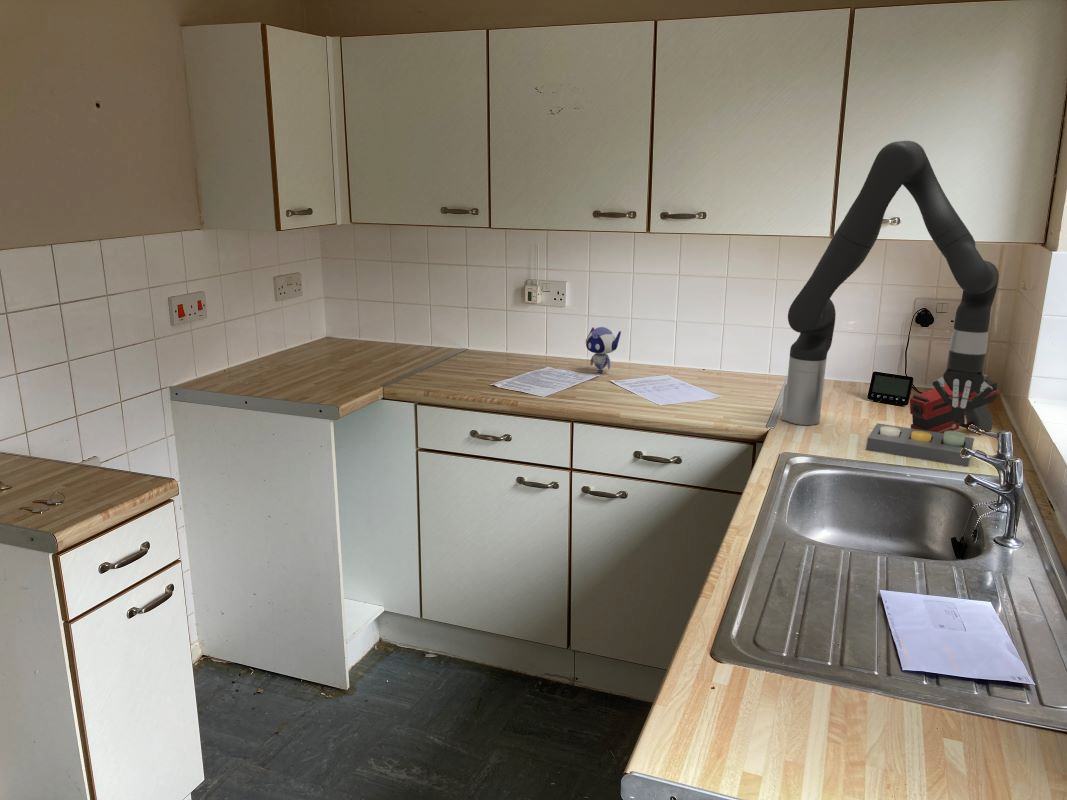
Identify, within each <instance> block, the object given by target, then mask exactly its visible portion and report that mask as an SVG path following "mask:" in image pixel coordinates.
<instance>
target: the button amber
mask: <svg viewBox="0 0 1067 800" xmlns="http://www.w3.org/2000/svg"><path fill="white" fill-rule="evenodd" d="M931 436H932V435H931V434H930V433H928V432H923V431H913V432H912V433H911V439H912V440H919V441H925V442H931Z"/></svg>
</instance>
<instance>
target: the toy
mask: <svg viewBox="0 0 1067 800" xmlns="http://www.w3.org/2000/svg"><path fill="white" fill-rule="evenodd" d="M588 333H589V334H588V335H587V337H586V339H585V346H586V350H588V351H590V352H591V353H594V354H593V355H592V356H591V359H590V366H591V367H592V366H593V364H594V366H595V367H596V368H597V372H598V373H599V374H602V373H603V372H604V370H603V369H605V367H607V369H608V370H610V368H611V364H612V363H611V362H612V361H611V359H610V356H609V355H608V354H611V353H613V352H615V351H616V350H617V349H618V346H619V342H620V338H621V333H622V331H621V330H620V331H618V333H617V334H616V336H615V334H614V333H613V332H612V331H611V330H610V329H609V328H607V327H604V326H599V327H596V328H595V327H594V326H593V327H591V330H590V331H589V332H588Z"/></svg>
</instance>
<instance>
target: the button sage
mask: <svg viewBox="0 0 1067 800" xmlns="http://www.w3.org/2000/svg"><path fill="white" fill-rule="evenodd" d="M965 437H966V434H965V433H963V432H962V431H961V432H960V431H957V430H955V431H945V432H944V438H943V444H944V445H950V446H956V447H963V445H964V439H965Z"/></svg>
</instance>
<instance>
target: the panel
mask: <svg viewBox="0 0 1067 800" xmlns="http://www.w3.org/2000/svg"><path fill="white" fill-rule="evenodd" d="M883 426H890V427H896V428H898V429H900V435H899V437H893V436H887V435H881V434H880V429H881V427H883ZM913 431H923V432H928V433H930V434H931V435H932V436H931V442H925V441H919V440H912V439H911V433H912V432H913ZM943 438H944V433H938V432H931V431H925V430H918V429H912V428H911V427H903V426H897V425H891V424H885V423H876V424H875V426H874V427H873V428H872V430H871V432H870V433H869V435H868V436H867V439H866V446H865V450H866V451H870V452H871V451H872V452H877V453H878V452H879V453H882V454H883V453H885V454H890V455H895V456H902V457H907V458H912V459H920V460H926V461H932V462H936V461H938V463H942V462H944V464H948V463H951V464H950V465H954V464H955V465H956V466H960V465H962V467H966V466H968V467H969V464H970V460H971V457H970V458H962V457H961V456H960V451H961V449H962V448H967V449H970V450H972V451H973V447H974V442H975V438H974V437H969V436H965V439H964V445H963V447H956V446H950V445H944V444H943ZM955 465H954V466H955Z"/></svg>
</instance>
